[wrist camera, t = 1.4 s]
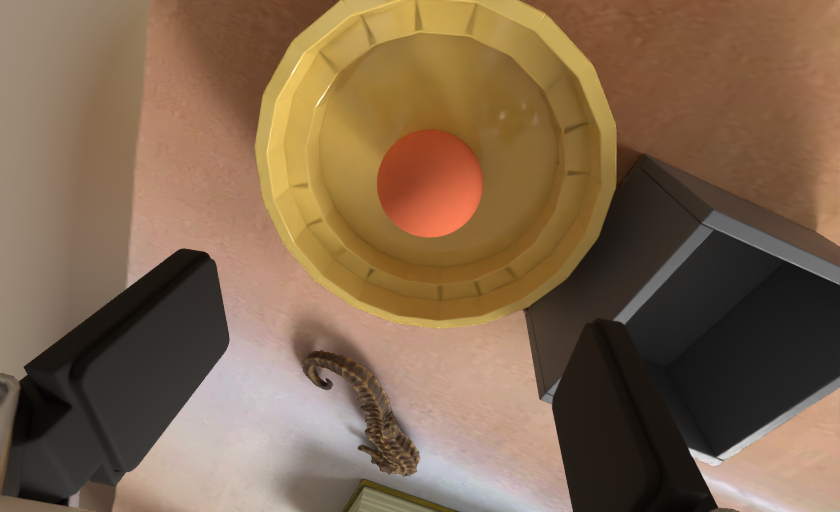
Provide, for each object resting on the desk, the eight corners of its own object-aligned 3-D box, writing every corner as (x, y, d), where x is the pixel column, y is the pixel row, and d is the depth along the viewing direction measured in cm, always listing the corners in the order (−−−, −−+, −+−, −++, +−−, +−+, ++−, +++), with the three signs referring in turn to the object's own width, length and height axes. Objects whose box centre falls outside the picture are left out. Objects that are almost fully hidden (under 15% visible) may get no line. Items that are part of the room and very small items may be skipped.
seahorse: (360, 340, 27) (350, 361, 25) (435, 461, 34) (431, 484, 32) (297, 350, 29) (285, 370, 27) (380, 463, 36) (374, 484, 34)
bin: (643, 152, 19) (713, 208, 13) (818, 233, 20) (952, 317, 14) (524, 314, 24) (538, 399, 19) (664, 370, 25) (716, 467, 20)
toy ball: (407, 101, 18) (387, 125, 14) (499, 143, 19) (506, 177, 15) (375, 189, 21) (351, 231, 17) (457, 224, 21) (453, 272, 17)
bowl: (333, -82, 15) (294, -111, 12) (663, 77, 17) (710, 92, 14) (270, 227, 23) (235, 262, 20) (498, 317, 25) (502, 364, 21)
